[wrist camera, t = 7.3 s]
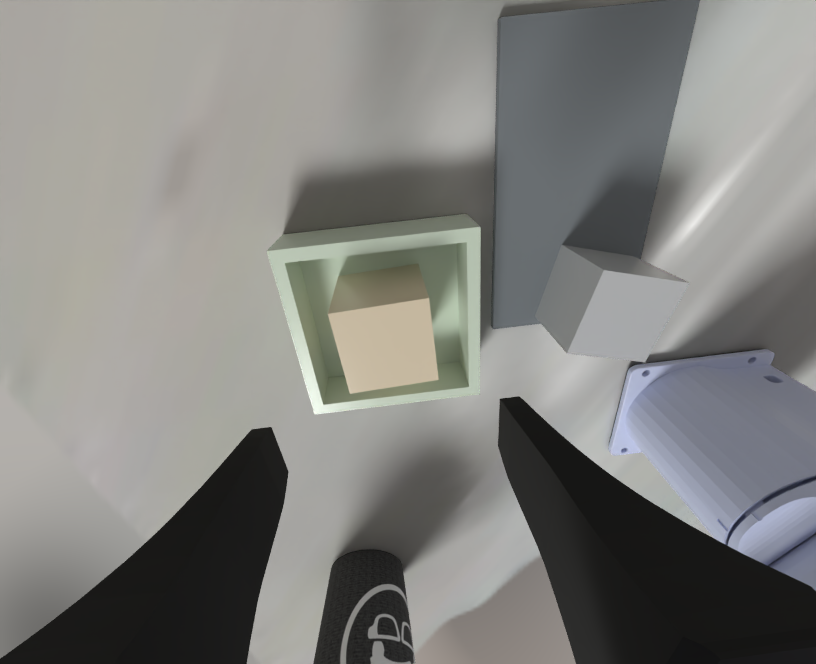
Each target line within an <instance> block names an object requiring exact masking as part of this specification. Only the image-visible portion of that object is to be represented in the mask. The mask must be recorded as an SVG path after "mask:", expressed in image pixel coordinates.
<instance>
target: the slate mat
mask: <svg viewBox="0 0 816 664" xmlns="http://www.w3.org/2000/svg"><path fill="white" fill-rule="evenodd" d="M699 2H700V0H661V1H652V2H642V3H632V4H623V5H613V6H603V7H593V8H584V9H574V10H564V11H555V12H545V13H535V14H526V15H516V16H506V17H500V18H499V19H498V36H497V82H496V128H495V174H494V220H493V266H492V312H491V326H492V328H493V329H499V328H507V327H516V326H524V325H532V324H541V323H540V322H539V321H538V319H537V318H536V317H535V315H536V312H537V310H538V307H539V304H540V301H541V299H542V296H543V293H544V291H545V288H546V285H547V283H548V280H549V277H550V275H551V272H552V269H553V267H554V264H555V261H556V259H557V256H558V253H559V250H560V248H561V245H566V246H573V247H579V248H585V249H592V250H598V251H604V252H611V253H617V254H623V255H630V256H634V257H636V258H639V259H641V255H642V250H643V246H644V242H645V237H646V233H647V228H648V224H649V220H650V215H651V211H652V207H653V202H654V198H655V194H656V189H657V185H658V181H659V176H660V172H661V168H662V163H663V159H664V154H665V150H666V146H667V141H668V137H669V133H670V128H671V124H672V120H673V115H674V111H675V107H676V102H677V98H678V94H679V89H680V85H681V80H682V76H683V72H684V67H685V63H686V59H687V54H688V50H689V46H690V41H691V37H692V33H693V28H694V24H695V20H696V15H697V11H698V7H699Z"/></svg>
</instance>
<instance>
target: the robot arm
mask: <svg viewBox="0 0 816 664" xmlns="http://www.w3.org/2000/svg"><path fill="white" fill-rule="evenodd" d="M774 356H775V354H774V353H773V352H772V351H770V350H768V349H763V350H754V351H746V352H738V353H730V354H722V355H713V356H705V357H697V358H689V359H680V360H672V361H664V362H656V363H648V364H639V365H634V366H632V367H631V368H630V369H629V370H628V372H627V376H626V380H625V384H624V388H623V392H622V396H621V400H620V404H619V408H618V412H617V416H616V420H615V424H614V428H613V432H612V436H611V440H610V444H609V448H608V450H609V452H610V453H611V454H612V455H624V454H632V453H640V452H643V453H644V455H645V456H646V457H647V458H648V459H649V461H650V462H651V463H652V464H653V465H654V467H655V468H656V469H657V470H658V471H659V473H660V474H661V475H662V476H663V477H664V479H665V480H666V481H667V482H668V483H669V485H670V486H671V487H672V488H673V489H674V491H675V492H676V493H677V494H678V495H679V497H680V498H681V499H682V500H683V501H684V503H685V504H686V505H687V506H688V507H689V509H690V510H691V511H692V512H693V513H694V515H695V516H696V517H697V518H698V519H699V521H700V522H701V523H702V524H703V525H704V527H705V528H706V529H707V530H708V531H709V533H710V534H711V535H712V536H713V537H714V538H712V537H710V536H708V535H706V534H704V533H703V532H701V531H699V530H697V529H696V528H694V527H692V526H690V525H688V524H687V523H685V522H683V521H682V520H680V519H678V518H677V517H675V516H673V515H672V514H670V513H668V512H667V511H665V510H663V509H661V508H660V507H658V506H656V505H655V504H653V503H652V502H650V501H648V500H647V499H645V498H644V497H642V496H641V495H639V494H638V493H636V492H635V491H633V490H632V489H630V488H629V487H627V486H626V485H624V484H623V483H621V482H620V481H619V480H617V479H616V478H614V477H613V476H611V475H610V474H609V473H607V472H606V471H605V470H603V469H602V468H601V467H599V466H598V465H597V464H596V463H594V462H593V461H592V460H591V459H589V458H588V457H587V456H585V455H584V454H583V453H582V452H581V451H579V450H578V449H577V448H576V447H575V446H573V445H572V444H571V443H570V442H569V441H568V440H566V439H565V438H564V437H563V436H562V435H561V434H559V433H558V432H557V431H556V430H555V429H554V428H553V427H552V426H550V425H549V424H548V423H547V422H546V421H545V420H544V419H543V418H542V417H541V416H540V415H539V414H538V413H536V412H535V411H534V410H533V409H532V408H531V407H530V406H529V405H528V404H527V403H526V402H525V401H524V400H523V399H522V398H520V397H511V398H503V399H500V412H499V438H498V447H499V450H500V453H501V457H502V460H503V464H504V467H505V470H506V473H507V476H508V479H509V481H510V484H511V486H512V488H513V491H514V493H515V495H516V498H517V500H518V502H519V505H520V507H521V509H522V511H523V514H524V516H525V518H526V521H527V523H528V525H529V528H530V530H531V532H532V535H533V537H534V539H535V542H536V544H537V546H538V549H539V551H540V554H541V556H542V559H543V561H544V564H545V567H546V570H547V573H548V576H549V579H550V582H551V585H552V588H553V591H554V594H555V597H556V600H557V603H558V607H559V609H560V613H561V616H562V619H563V622H564V625H565V629H566V632H567V635H568V638H569V641H570V645H571V648H572V651H573V655H574V658H575V661H576V664H816V391H814V390H812V389H810V388H809V387H807V386H805V385H804V384H802V383H800V382H798V381H797V380H795V379H793V378H792V377H790V376H788V375H787V374H785V373H783V372H781V371H780V370H778V369H776V368H775V367H773V366H771V363H772V361H773V359H774ZM644 371H645V372H644ZM287 478H288V470H287V467H286V464H285V462H284V459H283V456H282V454H281V451H280V449H279V446H278V443H277V441H276V438H275V435H274V433H273V430H272V428H271V427H268V428H260V429H252V430H251V431H250V432H249V433H248V434H247V435H246V437H245V438H244V439H243V440H242V441H241V442H240V443H239V445H238V446H237V447H236V448H235V449H234V450H233V452H232V453H231V454H230V455H229V456H228V457H227V458H226V460H225V461H224V462H223V463H222V464H221V465H220V467H219V468H218V469H217V470H216V471H215V472H214V473H213V474H212V476H211V477H210V478H209V479H208V480H207V481H206V482H205V483H204V485H203V486H202V487H201V488H200V489H199V490H198V491H197V492H196V493H195V494H194V495H193V496H192V497H191V498H190V499H189V500H188V501H187V502H186V503H185V505H184V506H183V507H182V508H181V509H180V510H179V511H178V512H177V513H176V514H175V515H174V516H173V517H172V518H171V519H170V520H169V521H168V522H167V523H166V524H165V525H164V526H163V527H162V528H161V529H160V530H159V531H158V532H157V533H156V534H155V535H154V536H153V537H152V538H150V539H149V540H148V541H147V542H146V543H145V544H144V545H143V546H142V547H141V548H140V549H138V550H137V551H136V552H135V553H134V554H133V555H132V556H131V557H130V558H128V559H127V560H126V561H125V562H124V563H123V564H122V565H120V566H119V567H118V568H117V569H116V570H114V571H113V572H112V573H111V574H110V575H108V576H107V577H106V578H105V579H104V580H102V581H101V582H100V583H99V584H98V585H96V586H95V587H94V588H93V589H92V590H90V591H89V592H88V593H87V594H86V595H84V596H83V597H82V598H81V599H80V600H78V601H77V602H76V603H74V604H73V605H72V606H71V607H69V608H68V609H67V610H65V611H64V612H63V613H62V614H60V615H59V616H58V617H56V618H55V619H54V620H53V621H51V622H50V623H49V624H47V625H46V626H45V627H44V628H42V629H40V630H39V631H38V632H37V633H35V634H34V635H32V636H31V637H30V638H29V639H27V640H26V641H24V642H23V643H22V644H20V645H19V646H17V647H16V648H15V649H13V650H12V651H11V652H9V653H8V654H7V655H5V656H4V657H2V658H1V659H0V664H247V657H248V651H249V645H250V640H251V634H252V629H253V623H254V618H255V612H256V607H257V602H258V597H259V593H260V589H261V585H262V581H263V577H264V574H265V570H266V567H267V563H268V560H269V556H270V552H271V549H272V545H273V542H274V538H275V534H276V531H277V527H278V524H279V520H280V516H281V512H282V509H283V505H284V499H285V493H286V486H287Z"/></svg>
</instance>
